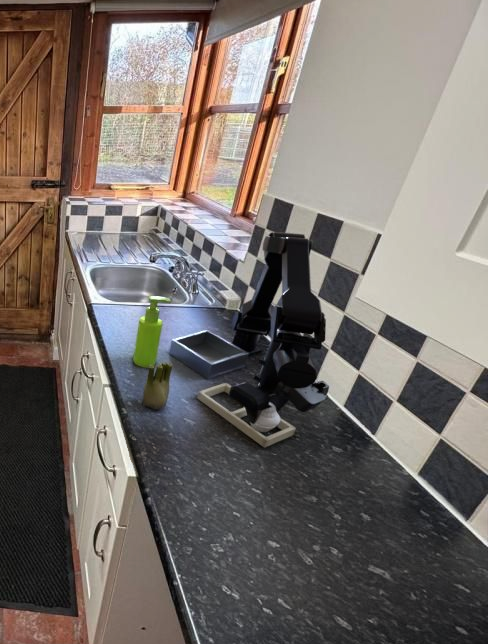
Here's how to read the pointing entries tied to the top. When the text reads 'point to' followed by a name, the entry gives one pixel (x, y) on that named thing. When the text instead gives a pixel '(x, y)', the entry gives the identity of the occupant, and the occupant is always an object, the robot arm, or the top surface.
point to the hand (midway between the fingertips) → (262, 418)
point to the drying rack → (236, 415)
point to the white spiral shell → (267, 419)
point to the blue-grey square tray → (208, 353)
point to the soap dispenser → (149, 334)
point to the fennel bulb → (157, 386)
